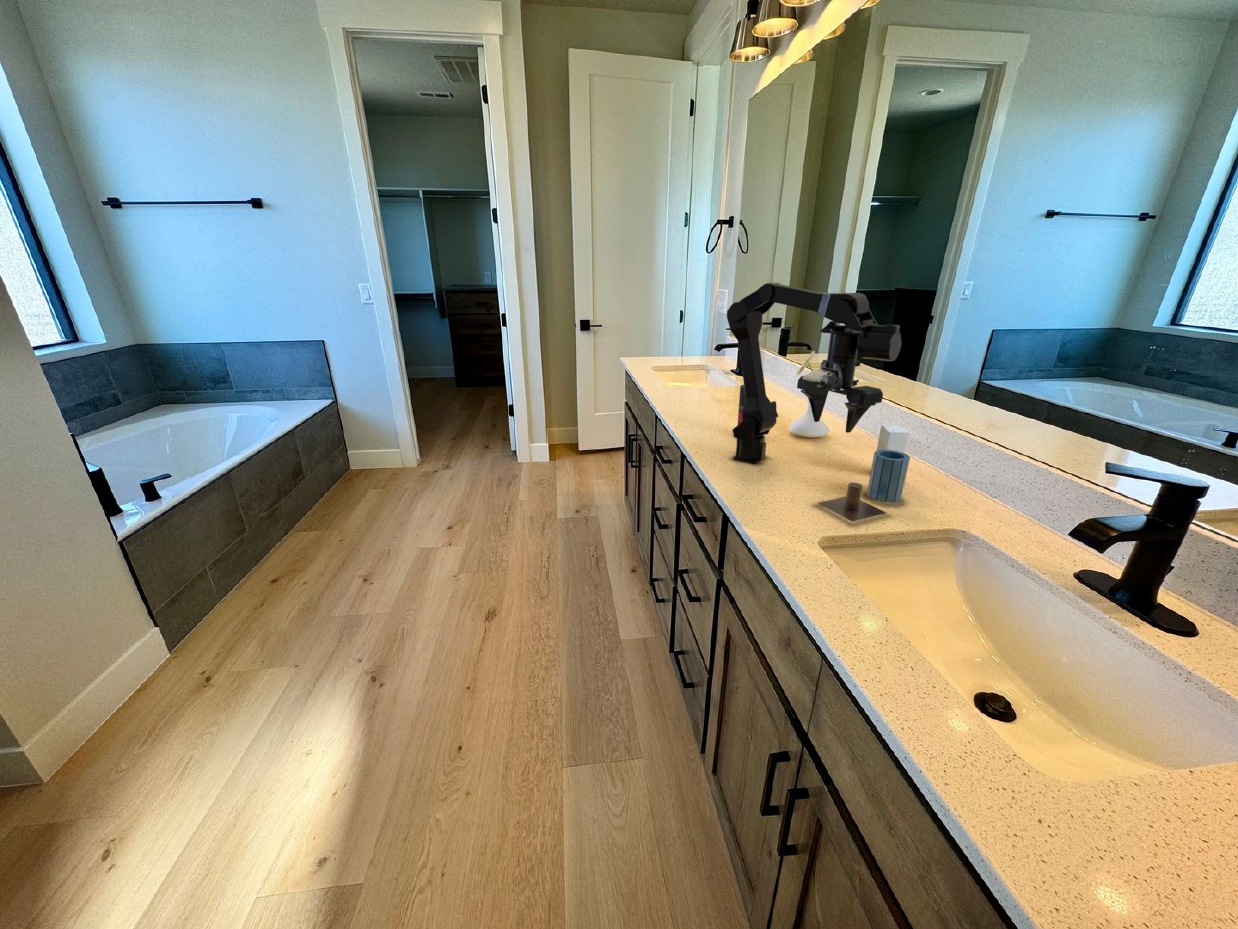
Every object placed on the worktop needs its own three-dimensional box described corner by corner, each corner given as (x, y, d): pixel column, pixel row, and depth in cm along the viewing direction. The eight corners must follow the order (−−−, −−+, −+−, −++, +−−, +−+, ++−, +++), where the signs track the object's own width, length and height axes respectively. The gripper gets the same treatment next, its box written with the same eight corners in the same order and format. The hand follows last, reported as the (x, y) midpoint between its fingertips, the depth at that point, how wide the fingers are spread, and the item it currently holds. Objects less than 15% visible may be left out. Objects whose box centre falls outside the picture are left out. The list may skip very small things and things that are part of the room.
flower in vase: (799, 427, 154) (809, 345, 145) (835, 434, 146) (848, 349, 137) (777, 436, 145) (786, 350, 136) (814, 444, 138) (826, 354, 129)
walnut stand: (817, 506, 102) (820, 480, 99) (849, 498, 105) (854, 473, 103) (851, 525, 94) (856, 497, 92) (886, 516, 97) (891, 489, 95)
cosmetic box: (899, 483, 112) (910, 433, 108) (879, 482, 113) (889, 432, 108) (890, 473, 118) (900, 425, 113) (871, 472, 118) (880, 424, 114)
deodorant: (759, 439, 143) (764, 388, 137) (739, 439, 143) (742, 388, 137) (754, 433, 148) (758, 384, 143) (734, 433, 148) (738, 384, 143)
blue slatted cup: (863, 500, 104) (871, 456, 100) (870, 490, 108) (878, 447, 105) (897, 508, 100) (906, 462, 97) (902, 497, 105) (912, 453, 101)
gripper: (781, 352, 109) (774, 420, 114) (848, 365, 93) (836, 444, 98) (820, 349, 113) (811, 415, 118) (891, 361, 97) (877, 436, 102)
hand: (831, 426), depth 109 cm, fingers open, 9 cm apart
